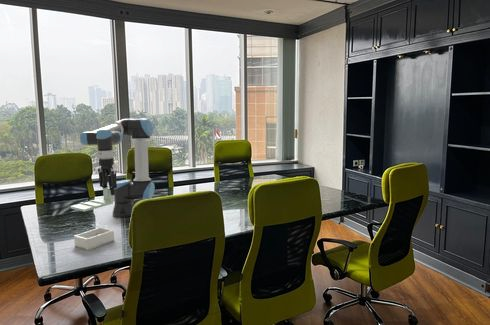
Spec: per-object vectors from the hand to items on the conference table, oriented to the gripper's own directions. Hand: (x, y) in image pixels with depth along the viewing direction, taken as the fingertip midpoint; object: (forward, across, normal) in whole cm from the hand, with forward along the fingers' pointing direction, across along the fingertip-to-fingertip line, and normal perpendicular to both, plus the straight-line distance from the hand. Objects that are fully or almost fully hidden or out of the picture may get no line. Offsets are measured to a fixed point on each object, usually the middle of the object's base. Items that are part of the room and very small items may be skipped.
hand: (109, 200), depth 202 cm
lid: (+1, 0, -9) cm, 9 cm away
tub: (+21, 0, -11) cm, 24 cm away
